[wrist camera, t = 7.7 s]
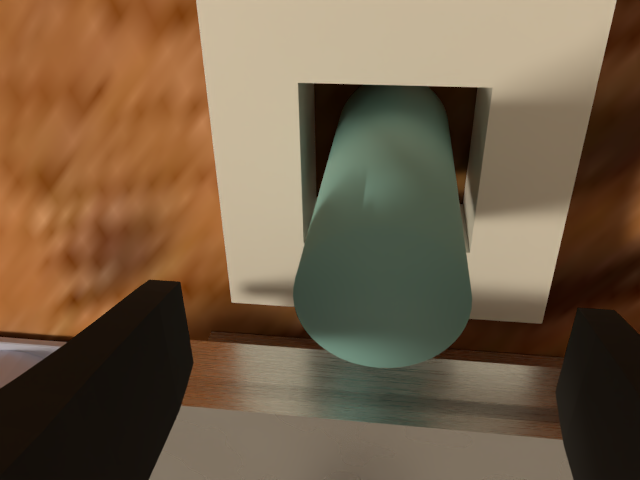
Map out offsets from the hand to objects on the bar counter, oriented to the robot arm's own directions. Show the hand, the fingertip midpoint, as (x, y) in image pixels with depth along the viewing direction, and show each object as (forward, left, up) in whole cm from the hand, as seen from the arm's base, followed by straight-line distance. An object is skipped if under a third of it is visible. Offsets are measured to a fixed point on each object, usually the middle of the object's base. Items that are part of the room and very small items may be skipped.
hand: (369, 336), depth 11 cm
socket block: (0, 0, -10) cm, 10 cm away
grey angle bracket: (-7, 0, -10) cm, 12 cm away
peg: (0, 0, -10) cm, 10 cm away
